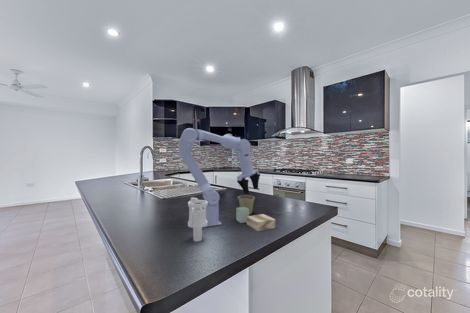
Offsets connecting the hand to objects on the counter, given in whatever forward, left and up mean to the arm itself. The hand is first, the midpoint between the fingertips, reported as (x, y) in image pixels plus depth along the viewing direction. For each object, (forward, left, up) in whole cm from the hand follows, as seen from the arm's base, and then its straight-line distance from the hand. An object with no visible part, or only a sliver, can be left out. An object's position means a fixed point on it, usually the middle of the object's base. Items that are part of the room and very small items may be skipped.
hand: (251, 191), depth 97 cm
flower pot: (+3, +11, -14) cm, 18 cm away
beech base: (-1, -10, -14) cm, 17 cm away
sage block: (-5, 0, -14) cm, 15 cm away
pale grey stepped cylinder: (-30, -12, -14) cm, 35 cm away
